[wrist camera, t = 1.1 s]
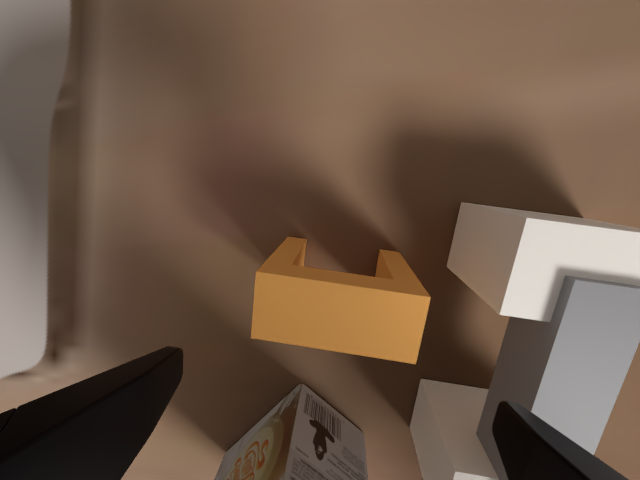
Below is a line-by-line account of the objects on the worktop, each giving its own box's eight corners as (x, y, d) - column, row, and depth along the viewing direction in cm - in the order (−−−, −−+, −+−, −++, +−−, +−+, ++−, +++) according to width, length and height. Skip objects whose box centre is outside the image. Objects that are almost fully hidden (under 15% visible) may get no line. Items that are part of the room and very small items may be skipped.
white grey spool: (461, 202, 18) (535, 219, 11) (584, 218, 17) (741, 246, 10) (409, 427, 21) (440, 547, 14) (510, 444, 21) (591, 576, 14)
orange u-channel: (399, 251, 18) (431, 297, 12) (390, 296, 19) (415, 364, 12) (288, 236, 19) (256, 271, 12) (283, 280, 20) (250, 337, 13)
